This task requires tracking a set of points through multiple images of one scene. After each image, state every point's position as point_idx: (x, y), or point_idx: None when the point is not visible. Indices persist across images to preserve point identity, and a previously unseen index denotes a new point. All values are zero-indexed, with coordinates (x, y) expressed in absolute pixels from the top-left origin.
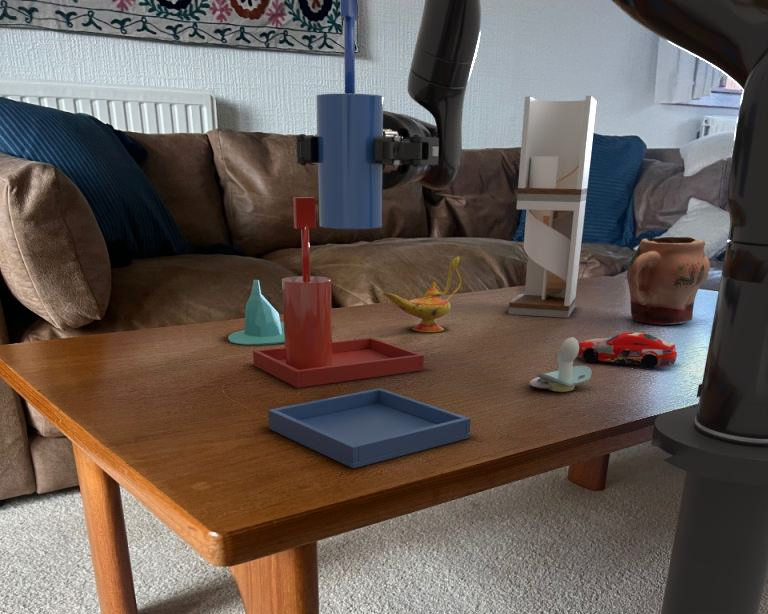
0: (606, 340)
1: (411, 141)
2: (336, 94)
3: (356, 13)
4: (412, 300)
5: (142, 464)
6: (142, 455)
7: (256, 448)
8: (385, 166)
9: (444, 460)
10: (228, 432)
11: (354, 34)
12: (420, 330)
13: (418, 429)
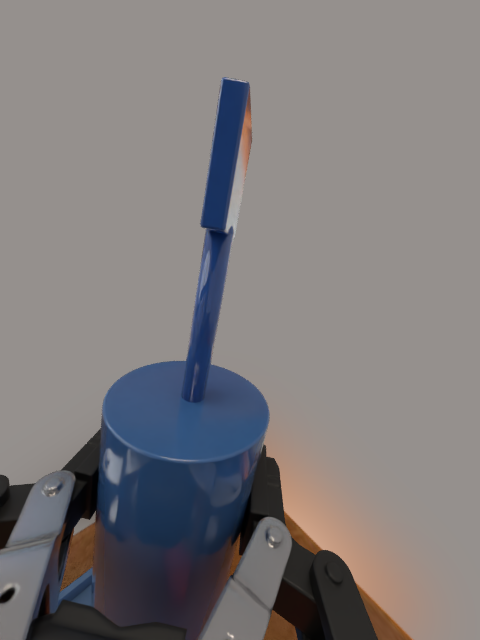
0: None
1: (9, 488)
2: (214, 365)
3: (204, 209)
4: None
5: (290, 525)
6: (301, 544)
7: (231, 573)
8: (57, 601)
9: (77, 556)
10: (271, 631)
11: (200, 269)
12: None
13: (90, 573)
